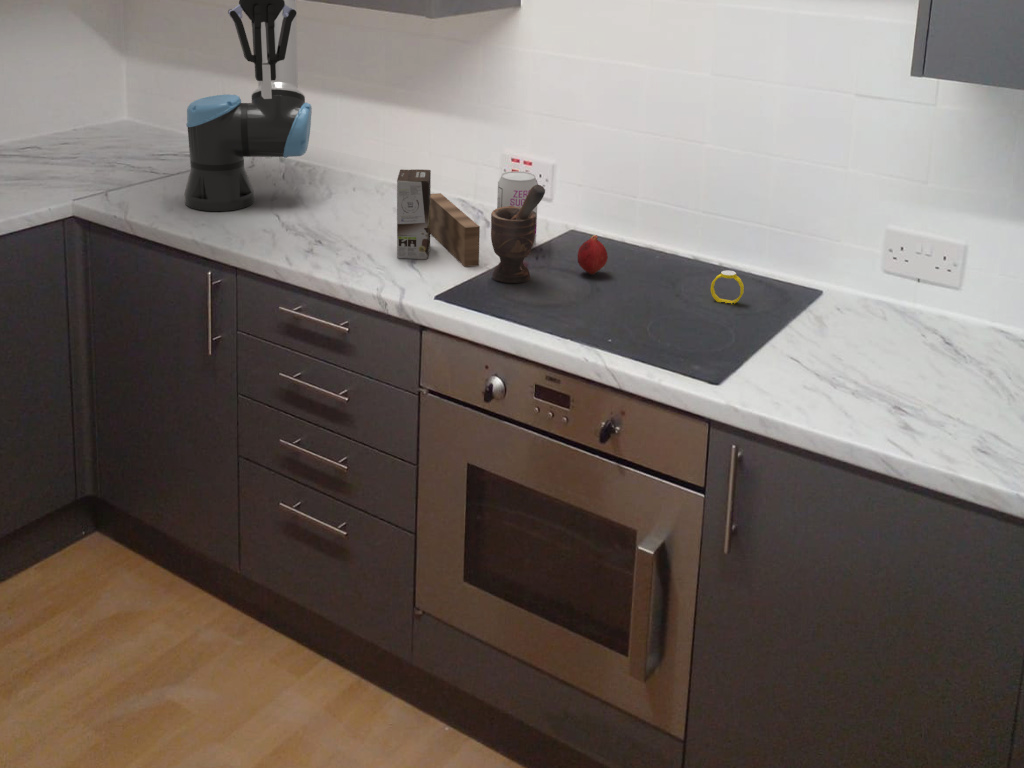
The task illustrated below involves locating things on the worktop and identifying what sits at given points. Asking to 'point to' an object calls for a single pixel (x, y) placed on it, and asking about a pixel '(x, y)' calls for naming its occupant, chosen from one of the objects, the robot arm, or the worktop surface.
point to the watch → (728, 275)
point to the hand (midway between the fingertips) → (266, 97)
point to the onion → (592, 255)
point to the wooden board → (454, 230)
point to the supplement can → (515, 190)
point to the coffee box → (413, 214)
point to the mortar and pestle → (514, 237)
